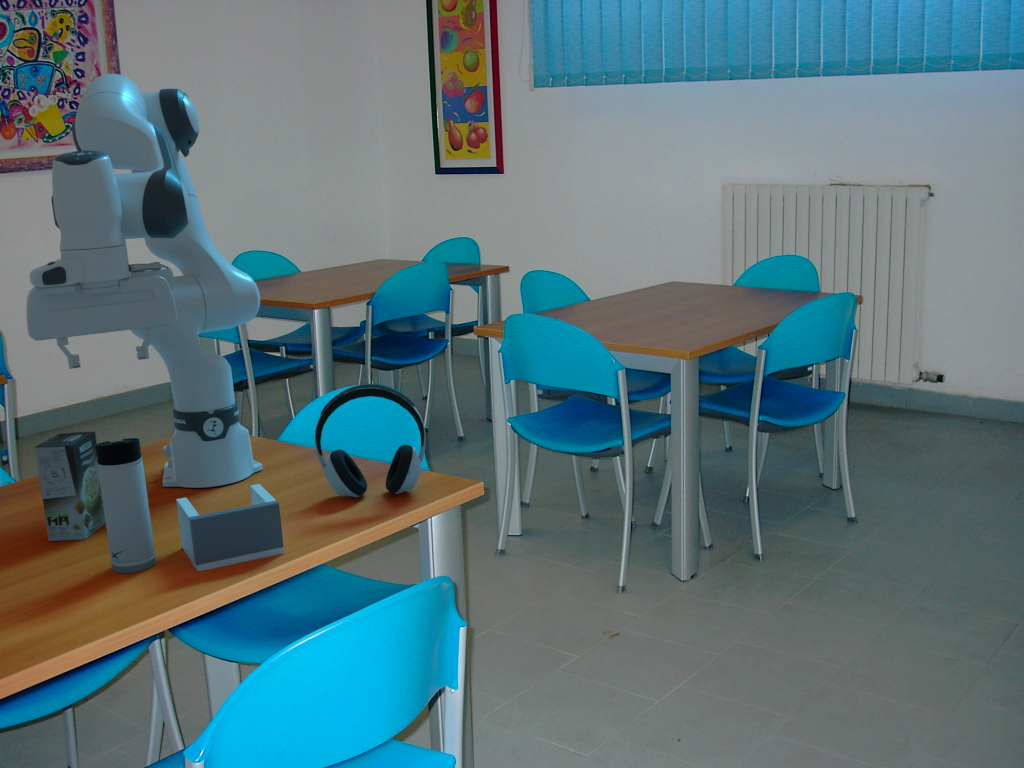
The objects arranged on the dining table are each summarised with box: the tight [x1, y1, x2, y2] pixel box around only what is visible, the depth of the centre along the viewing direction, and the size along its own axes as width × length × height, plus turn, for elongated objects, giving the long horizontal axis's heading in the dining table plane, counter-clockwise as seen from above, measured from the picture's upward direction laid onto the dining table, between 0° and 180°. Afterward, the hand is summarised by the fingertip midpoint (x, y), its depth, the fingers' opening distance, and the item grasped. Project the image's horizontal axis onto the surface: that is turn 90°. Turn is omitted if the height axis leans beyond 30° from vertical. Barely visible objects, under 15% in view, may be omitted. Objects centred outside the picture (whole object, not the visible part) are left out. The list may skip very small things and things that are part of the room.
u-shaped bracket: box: [176, 483, 285, 573], centre depth 167 cm, size 12×13×8 cm
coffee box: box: [34, 431, 106, 542], centre depth 179 cm, size 9×6×16 cm
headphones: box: [314, 383, 427, 498], centre depth 189 cm, size 19×8×20 cm, turn 95°
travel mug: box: [95, 437, 157, 575], centre depth 161 cm, size 6×7×20 cm
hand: (109, 363), depth 157 cm, fingers open, 8 cm apart
